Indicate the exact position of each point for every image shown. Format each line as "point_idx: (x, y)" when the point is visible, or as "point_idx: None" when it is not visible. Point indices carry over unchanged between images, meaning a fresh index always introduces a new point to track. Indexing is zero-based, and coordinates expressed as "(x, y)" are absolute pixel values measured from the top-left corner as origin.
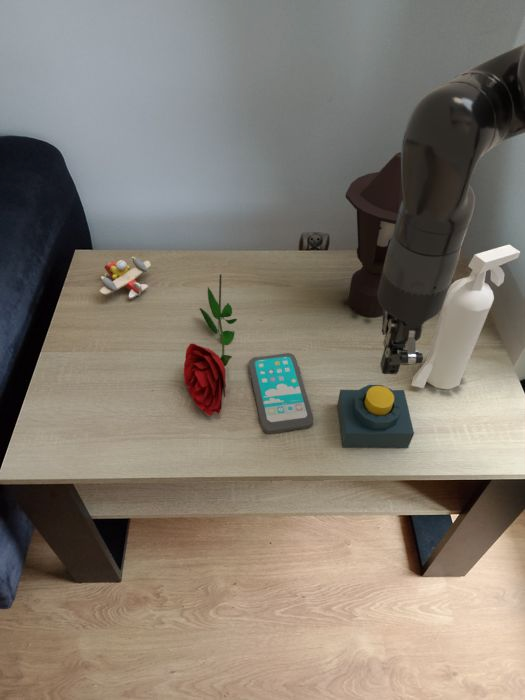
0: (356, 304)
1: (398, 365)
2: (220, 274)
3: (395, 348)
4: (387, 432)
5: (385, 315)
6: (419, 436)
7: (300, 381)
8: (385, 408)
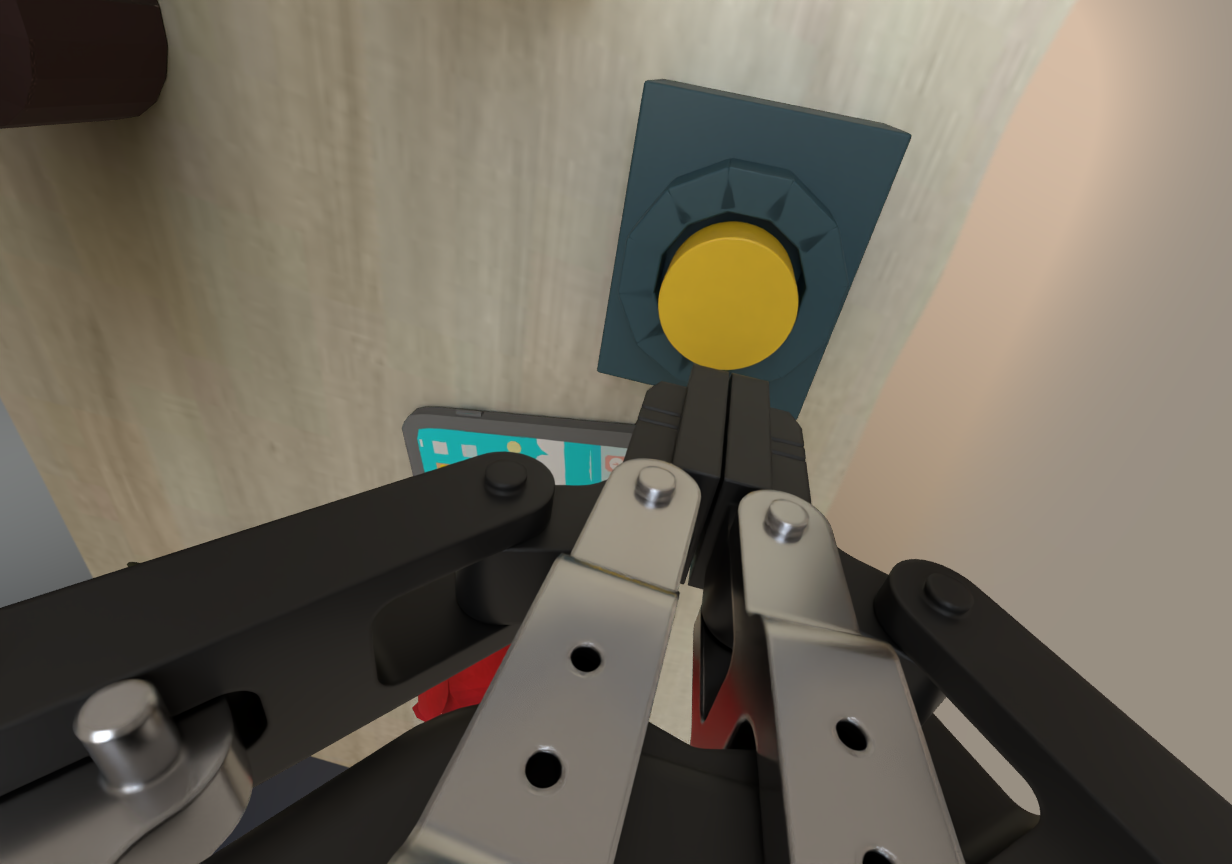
0: (108, 104)
1: (806, 487)
2: (128, 566)
3: (727, 609)
4: (854, 265)
5: (369, 720)
6: (850, 38)
7: (517, 429)
8: (797, 304)
